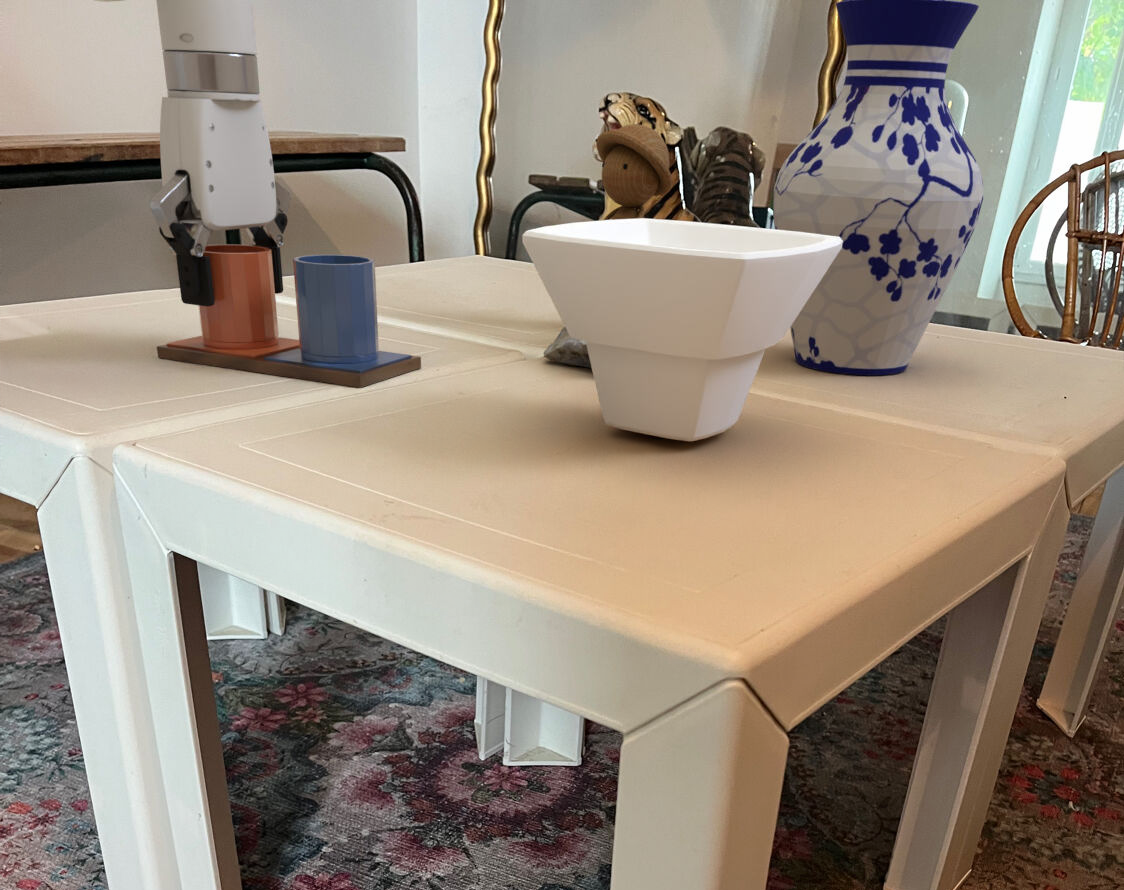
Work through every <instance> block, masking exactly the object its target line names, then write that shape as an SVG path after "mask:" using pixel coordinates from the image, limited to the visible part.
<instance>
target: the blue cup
mask: <svg viewBox="0 0 1124 890" xmlns="http://www.w3.org/2000/svg"><path fill="white" fill-rule="evenodd" d="M292 265H293V276H294V290H295V302H296V303H295V304H296V316H297V331H298V340H299V344H300V349H301V357H302V358H304V359H306V360H309V361H313V362H319V363H330V364H351V363H362V362H368V361H372V360H374V359H376V358H378V351H379V349H380V348H379V328H378V327H379V325H378V304H377V302H378V301H377V281H376V280H377V279H376V278H377V277H376V261H375V259H373V258H372V257H368V256H367V257H366V256H360V255H352V254H307V255H301V256H296V257H294V258H292Z"/></svg>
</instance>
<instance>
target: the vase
mask: <svg viewBox="0 0 1124 890" xmlns="http://www.w3.org/2000/svg"><path fill="white" fill-rule="evenodd" d="M835 7H836V12H837V15H838V18H839V21H840V25H841V28H842V32H843V36H844V40H845V44H846V52H847V64H846V65H847V66H846V73H845V76H844V77H845V78H844V82H843V85H842V87H841V89H840V92H839V94H838V96H837V98H836V100H835V101H834V103H833V105H832V106H831V108H830V109H829V110H828V112H827V113H826V114H825V115H824V117H823V118H822V119H821V120H820V121H819V123H817V124H816V126H815V127H814V128H813V129H812V130H811V131H810V132H809V133H808V134H807V135H806V136H805V138H804V139H803V140H802V141H801V142H800V143H798V145H797V146H796V147H795V148H794V149H793V150H792V151H791V152H790V154H789V155H788V157H786V159H785V160H784V162H783V163H782V166H781V167H780V170H779V172H778V173H777V177H776V181H775V183H774V186H773V205H772V207H773V208H772V217H773V224H774V229H775V230H786V231H796V232H805V233H813V234H821V235H829V236H837V237H840V238H841V239H842V241H843V244H842V248H841V250H840V251H839V253H838V254H837V256H836V258H835V259H834V261H833V262H832V264H831V265H830V267H829V268H828V270H827V271H826V273H825V274H824V276H823V278H822V279H821V281H820V282H819V284H818V285H817V287H816V288H815V290H814V291H813V293H812V294H811V296H810V298H809V299H808V301H807V302H806V304H805V305H804V307H803V308H802V310H801V311H800V313H799V314H798V316H797V318H796V319H795V321H794V322H793V324H792V325H791V327H790V328H789V330H790V335H791V341H792V347H793V354H794V355H793V356H794V360H795V362H796V363H797V364H798V365H800V366H803V367H806V368H809V369H812V370H817V371H821V372H826V373H831V374H832V373H834V374H838V375H839V374H841V375H849V376H850V375H851V376H852V375H853V376H887V375H889V376H890V375H896V374H900V373H902V372H905V371H906V370H907V368H908V365H909V363H910V361H911V359H912V357H913V355H914V353H915V351H916V349H917V347H918V345H919V343H920V342H921V339H922V337H923V335H924V333H925V331H926V329H927V327H928V326H929V324H930V322H931V320H932V318H933V316H934V314H935V312H936V310H937V308H938V306H939V304H940V302H941V300H942V298H943V296H944V294H945V293H946V291H947V288H948V286H949V285H950V282H951V281H952V278H953V276H954V274H955V273H956V271H957V268H958V267H959V264H960V262H961V260H962V257H963V255H964V253H965V251H966V249H967V246H968V245H969V242H970V240H971V238H972V236H973V234H974V231H975V230H976V228H977V224H978V220H979V216H980V212H981V208H982V205H983V202H984V181H983V178H982V176H983V175H982V172H981V169H980V166H979V164H978V162H977V160H976V158H975V156H974V154H973V153H972V151H971V149H970V148H969V146H968V145H967V143H966V141H965V140H964V137H963V136H962V135H961V133H960V131H959V129H958V127H957V126H956V124H955V120H954V119H953V117H952V114H951V112H950V109H949V105H948V102H947V97H946V87H945V86H946V75H947V70H948V65H949V62H950V59H951V57H952V55H953V52H954V50H955V47H956V46H957V44H958V42H959V41H960V39H961V37H962V36H963V34H964V32H965V31H966V29H967V27H968V26H969V24H970V23H971V22H972V20H973V18H974V17H975V15H976V13H977V12H978V9H979V7H980V6H979V5H977V4H975V3H971V2H965V1H956V0H841V1H838V2H836V3H835Z"/></svg>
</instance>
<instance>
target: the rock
mask: <svg viewBox="0 0 1124 890" xmlns="http://www.w3.org/2000/svg"><path fill="white" fill-rule="evenodd" d="M543 358H546V359H548V360H549V361H553V362H557V363H562V364H565V365H568V366H577V367H578V366H579V367H583V368H584V367H585V368H588V369H592V367H591V363H590V359H589V354H588V350H587V346H586V341H584V340H579V339H575V338H571V337H570V335H569V333H568V331H567V329H566V327H565V325H564V326H563V327H562V329H561V330H560V333H559V334H558V335H557V337H556V338H555V339H554V341H553V342H551V343H550V344H549V345H548V346H547V348H546V349H545V350H544V352H543Z"/></svg>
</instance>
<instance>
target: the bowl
mask: <svg viewBox="0 0 1124 890" xmlns="http://www.w3.org/2000/svg"><path fill="white" fill-rule="evenodd" d="M522 244H523V246H524V249H525V250H526V253H527V254H528V256H529V258H530V260H531V262H532V264H533V266H534V268H535V270H536V271H537V274H538V275H539V278H540V279H541V282H542V284H543V285H544V288H545V289H546V290H545V291H547V294H548V296H549V297H550V299H551V302H552V304H553V305H554V307H555V309H556V312H557V313H558V316H559V317H560V319H561V321H562V323H563V325H564V326H565V327H566V329H567V331H568V333H569V335H570V337H571V338H575V339H579V340H584V341H586V346H587V350H588V354H589V359H590V363H591V367H592V368H591V371H592V375H593V380H594V384H595V389H596V392H597V396H598V401H599V405H600V409H601V414H602V417H603V418H602V419H603V422H604V424H605V425H606V426H609V427H613V428H616V429H619V430H624V431H629V432H634V433H638V434H642V435H648V436H654V437H658V438H664V439H668V440H677V441H683V442H694V441H699V440H703V439H707V438H710V437H713V436H716V435H719V434H722V433H724V432H726V431H728V430H729V429H731V428H733V427H734V426H735V425H736V423H737V422H738V420H739V418H740V416H741V413H742V411H743V408H744V405H745V403H746V400H747V398H748V395H749V392H750V391H751V388H752V386H753V382H754V380H755V379H756V378H755V377H756V375H757V372H758V370H759V367H760V365H761V362H762V359H763V357H764V354H765V352H766V349H767V348H770V347H772V346H775V345H777V344H778V343H780V342H781V340H783V339H784V338H785V336H786V334H787V333H788V331H789V330H790V327H791V325H792V324H793V322H794V321H795V319H796V318H797V316H798V314H799V313H800V311H801V310H802V308H803V307H804V305H805V304H806V302H807V301H808V299H809V298H810V296H811V294H812V293H813V291H814V290H815V288H816V287H817V285H818V284H819V282H820V281H821V279H822V278H823V276H824V274H825V273H826V271H827V270H828V268H829V267H830V265H831V264H832V262H833V261H834V259H835V258H836V256H837V254H838V253H839V251H840V250H841V248H842V244H843V241H842V239H841V238H840V237H837V236H829V235H821V234H813V233H805V232H796V231H786V230H775V228H763V227H754V226H744V225H734V224H733V225H732V224H722V223H712V222H700V221H689V220H675V219H674V220H673V219H661V218H647V217H646V218H645V217H644V218H639V219H616V220H611V219H610V220H604V219H602V220H589V221H578V222H569V223H561V224H554V225H545V226H541V227H537V228H531V229H528V230H526V231H525V232H524V233H523V234H522Z"/></svg>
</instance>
